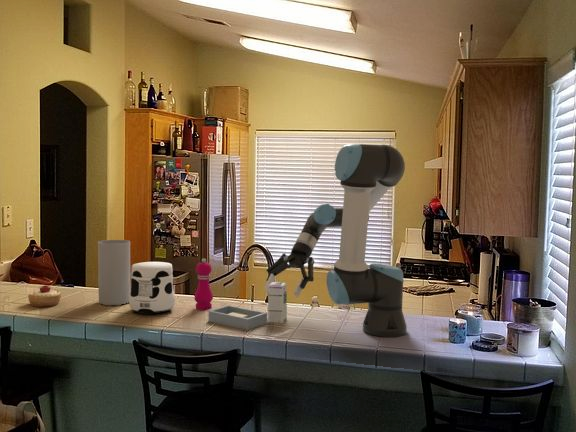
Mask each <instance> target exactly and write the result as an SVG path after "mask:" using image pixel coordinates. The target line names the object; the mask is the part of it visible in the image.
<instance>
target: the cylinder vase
mask: <svg viewBox="0 0 576 432" xmlns="http://www.w3.org/2000/svg"><path fill="white" fill-rule="evenodd" d="M97 266H98V268H97V269H98V270H97V273H98V274H97V277H98V285H97V286H98V303H99V304H100V305H102V304H103V305H102V306H107V305H117V306H122V305H121V304H124V305H127V304H129V296H130V292H131V241H130V240H128V239H127V240H126V239H106V240H99V241H97ZM126 303H127V304H126Z"/></svg>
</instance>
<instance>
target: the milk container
mask: <svg viewBox="0 0 576 432" xmlns="http://www.w3.org/2000/svg"><path fill="white" fill-rule="evenodd" d="M173 272H174V271H173V264H172V263H170V262H165V261H145V262H143V261H142V262H138V263H137V262H136V263H134V264H132V265H131V269H130V284H131V285H130V288H131V292H130V296H129V303H128V305H129V308H130V309H131V310H132V311H133V312H136V313H139V314H145V315H146V314H148V315H149V314H150V315H151V314H153V315H154V314H162V313H165V312H168V311H170V310H172V309H173V308H174V306H175V304H176V303H175V302H176V295H175V292H174V291H175V290H174V285H173V279H174V275H173Z"/></svg>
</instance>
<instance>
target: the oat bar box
mask: <svg viewBox="0 0 576 432" xmlns="http://www.w3.org/2000/svg"><path fill="white" fill-rule="evenodd" d="M229 315H234V316H239V317H243V318H248V315H243V314H238V313H233V312H232V313H229Z"/></svg>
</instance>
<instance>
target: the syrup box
mask: <svg viewBox="0 0 576 432" xmlns="http://www.w3.org/2000/svg"><path fill="white" fill-rule="evenodd" d="M287 287H288V285H287V282H282V281H274V282H272V283H271V284H269V285H268V294H267V296H268V297H267V298H268V299H267V303H268V304H267V305H268V306H267V307H268V309H267V311H268V312H267V323H277V324H285V322H286V321H287V319H288V316H287V312H288V311H287V310H288V309H287V307H288V306H287V305H288V304H287V303H288V302H287V301H288V299H287V298H288V297H287V294H288V291H287Z"/></svg>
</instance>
